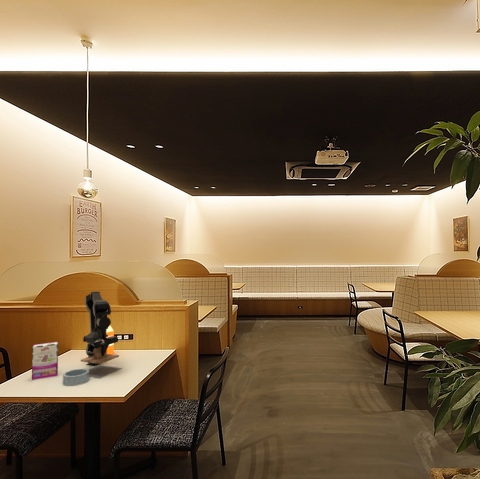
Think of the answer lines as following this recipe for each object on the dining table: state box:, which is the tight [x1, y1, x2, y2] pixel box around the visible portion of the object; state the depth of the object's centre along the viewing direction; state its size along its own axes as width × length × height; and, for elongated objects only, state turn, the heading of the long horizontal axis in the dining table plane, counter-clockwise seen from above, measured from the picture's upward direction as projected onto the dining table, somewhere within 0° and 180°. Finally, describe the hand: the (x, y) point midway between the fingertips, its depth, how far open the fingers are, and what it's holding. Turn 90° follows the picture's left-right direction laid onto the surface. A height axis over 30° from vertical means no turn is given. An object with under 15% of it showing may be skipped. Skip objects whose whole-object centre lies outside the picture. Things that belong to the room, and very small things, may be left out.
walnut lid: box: [80, 347, 120, 365], centre depth 170 cm, size 13×13×6 cm
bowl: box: [62, 368, 90, 387], centre depth 155 cm, size 11×11×4 cm
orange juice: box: [106, 324, 115, 355], centre depth 201 cm, size 8×9×20 cm
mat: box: [88, 364, 123, 379], centre depth 169 cm, size 16×16×1 cm
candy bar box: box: [31, 341, 59, 381], centre depth 164 cm, size 11×5×16 cm, turn 118°
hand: (100, 355), depth 170 cm, fingers closed on walnut lid, 3 cm apart
